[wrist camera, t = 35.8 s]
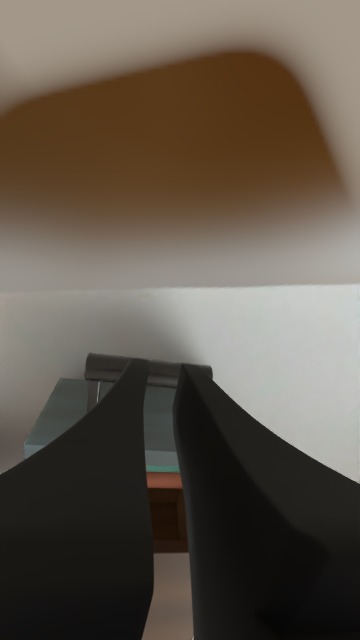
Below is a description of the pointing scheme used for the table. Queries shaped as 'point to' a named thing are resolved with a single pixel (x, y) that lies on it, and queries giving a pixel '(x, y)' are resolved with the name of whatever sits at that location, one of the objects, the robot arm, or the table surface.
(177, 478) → the teal and pink cylinders
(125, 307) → the table surface
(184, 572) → the cabinet
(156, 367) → the drawer
